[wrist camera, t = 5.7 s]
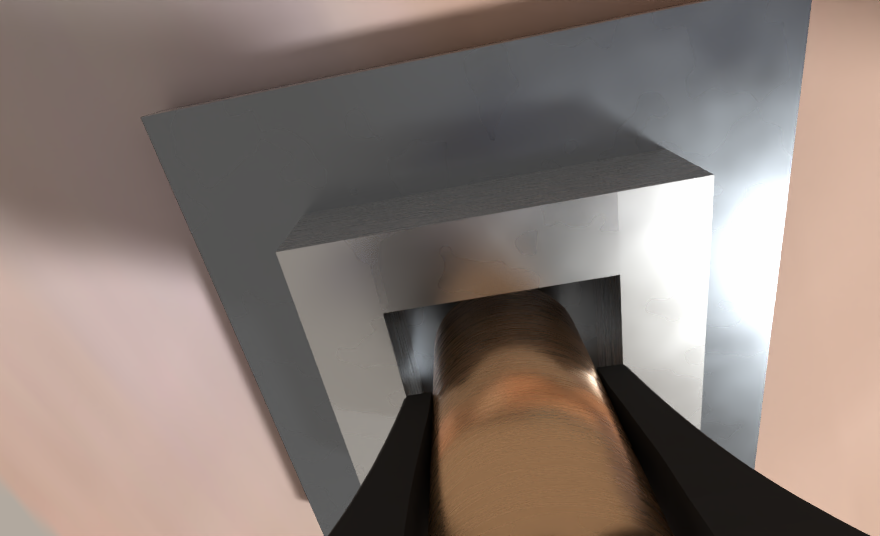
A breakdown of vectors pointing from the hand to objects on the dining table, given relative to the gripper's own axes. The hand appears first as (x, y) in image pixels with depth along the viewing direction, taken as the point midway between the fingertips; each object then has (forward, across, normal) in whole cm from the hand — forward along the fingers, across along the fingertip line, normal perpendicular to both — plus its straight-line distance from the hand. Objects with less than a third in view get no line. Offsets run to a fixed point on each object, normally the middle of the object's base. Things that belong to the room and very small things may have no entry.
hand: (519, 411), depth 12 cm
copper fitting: (+2, 0, 0) cm, 2 cm away
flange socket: (+4, 0, 0) cm, 4 cm away
